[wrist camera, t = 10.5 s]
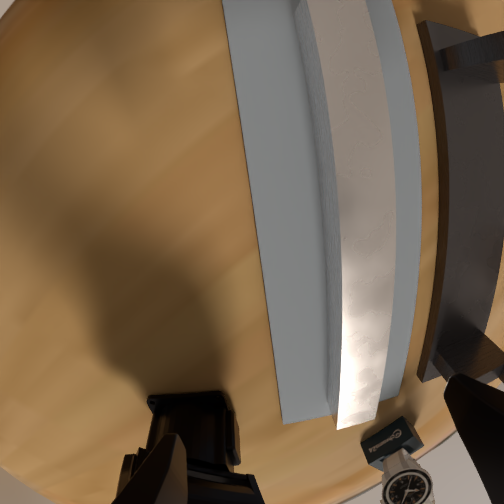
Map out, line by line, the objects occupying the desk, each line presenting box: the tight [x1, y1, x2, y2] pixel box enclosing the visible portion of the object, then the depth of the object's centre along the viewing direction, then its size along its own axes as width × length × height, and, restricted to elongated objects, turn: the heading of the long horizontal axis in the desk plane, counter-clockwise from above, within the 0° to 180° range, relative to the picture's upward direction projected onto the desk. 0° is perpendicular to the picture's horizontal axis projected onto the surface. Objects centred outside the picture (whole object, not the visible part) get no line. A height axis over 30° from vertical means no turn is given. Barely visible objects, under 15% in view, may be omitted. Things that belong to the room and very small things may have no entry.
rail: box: [293, 0, 396, 430], centre depth 16 cm, size 3×28×3 cm, turn 8°
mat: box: [222, 0, 422, 424], centre depth 18 cm, size 11×32×1 cm, turn 8°
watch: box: [360, 416, 435, 504], centre depth 21 cm, size 6×8×11 cm
